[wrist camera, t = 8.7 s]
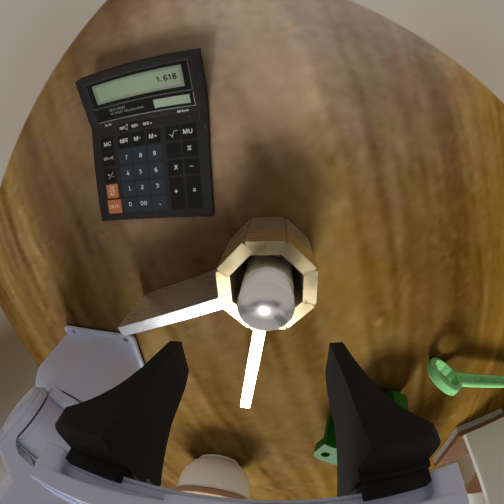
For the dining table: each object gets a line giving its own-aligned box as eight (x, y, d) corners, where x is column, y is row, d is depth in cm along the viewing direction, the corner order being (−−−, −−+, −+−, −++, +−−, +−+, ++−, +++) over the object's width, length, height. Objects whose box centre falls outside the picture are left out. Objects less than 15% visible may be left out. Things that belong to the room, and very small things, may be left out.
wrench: (524, 365, 25) (539, 387, 20) (517, 375, 25) (531, 397, 20) (424, 350, 24) (442, 387, 19) (414, 364, 25) (430, 401, 20)
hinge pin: (251, 275, 22) (240, 331, 15) (247, 237, 21) (233, 284, 14) (291, 272, 22) (295, 329, 15) (289, 235, 20) (293, 281, 14)
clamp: (357, 366, 30) (377, 392, 22) (393, 382, 29) (419, 409, 21) (308, 437, 30) (310, 476, 21) (343, 451, 29) (354, 489, 21)
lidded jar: (191, 439, 32) (176, 495, 24) (264, 457, 33) (260, 513, 24) (179, 463, 36) (166, 508, 28) (241, 479, 37) (234, 524, 28)
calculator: (107, 217, 22) (87, 228, 19) (97, 81, 17) (75, 77, 15) (215, 212, 21) (205, 224, 18) (208, 57, 17) (197, 45, 14)
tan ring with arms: (161, 361, 26) (145, 396, 22) (128, 222, 21) (94, 245, 17) (302, 367, 25) (305, 408, 21) (309, 216, 20) (319, 240, 15)
